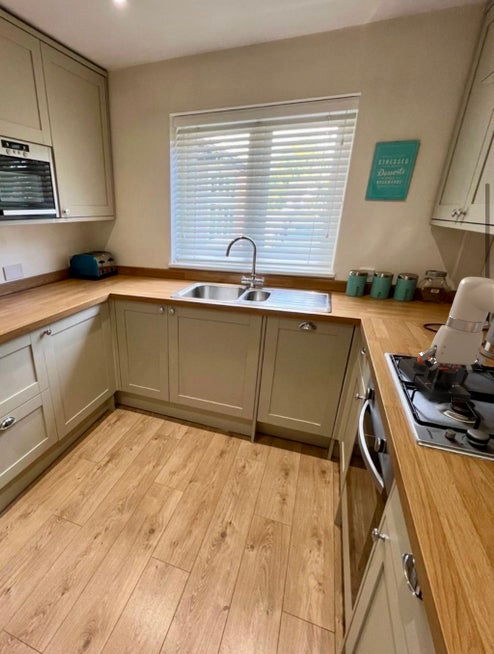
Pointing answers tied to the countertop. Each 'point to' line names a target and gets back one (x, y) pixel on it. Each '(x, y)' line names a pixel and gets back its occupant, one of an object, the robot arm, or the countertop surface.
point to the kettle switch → (421, 359)
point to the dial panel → (439, 391)
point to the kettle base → (413, 368)
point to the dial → (445, 377)
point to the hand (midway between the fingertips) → (443, 381)
